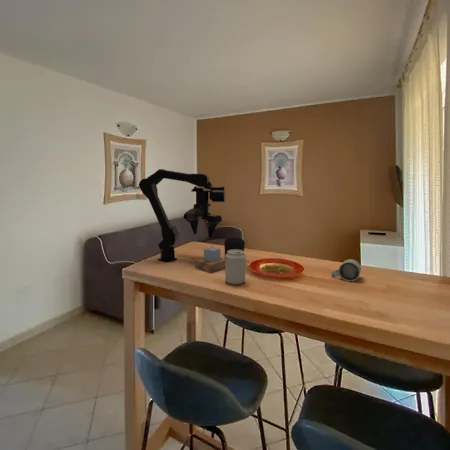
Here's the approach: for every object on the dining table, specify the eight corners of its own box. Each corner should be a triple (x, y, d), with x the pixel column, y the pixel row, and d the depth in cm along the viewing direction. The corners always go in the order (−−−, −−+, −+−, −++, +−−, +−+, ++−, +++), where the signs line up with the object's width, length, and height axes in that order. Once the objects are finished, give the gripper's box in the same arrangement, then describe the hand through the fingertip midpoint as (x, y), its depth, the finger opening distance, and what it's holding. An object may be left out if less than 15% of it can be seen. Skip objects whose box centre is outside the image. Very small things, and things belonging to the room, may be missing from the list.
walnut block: (195, 269, 131) (195, 260, 131) (211, 264, 139) (211, 255, 138) (211, 274, 125) (211, 264, 124) (227, 268, 132) (227, 260, 131)
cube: (211, 257, 134) (211, 246, 134) (220, 259, 131) (220, 248, 130) (204, 260, 131) (203, 248, 130) (212, 262, 127) (212, 250, 127)
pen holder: (220, 261, 141) (220, 240, 139) (230, 256, 149) (231, 236, 147) (238, 265, 136) (238, 243, 134) (247, 260, 144) (248, 239, 142)
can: (243, 286, 111) (244, 254, 109) (223, 284, 112) (223, 253, 110) (246, 279, 118) (247, 249, 116) (227, 277, 119) (227, 248, 117)
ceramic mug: (360, 276, 122) (361, 258, 120) (359, 283, 115) (360, 263, 113) (332, 273, 127) (333, 255, 125) (329, 279, 119) (330, 260, 118)
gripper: (174, 201, 136) (175, 235, 139) (205, 204, 125) (205, 241, 127) (192, 200, 145) (192, 232, 147) (222, 202, 133) (222, 237, 136)
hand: (202, 235), depth 139 cm, fingers open, 9 cm apart
